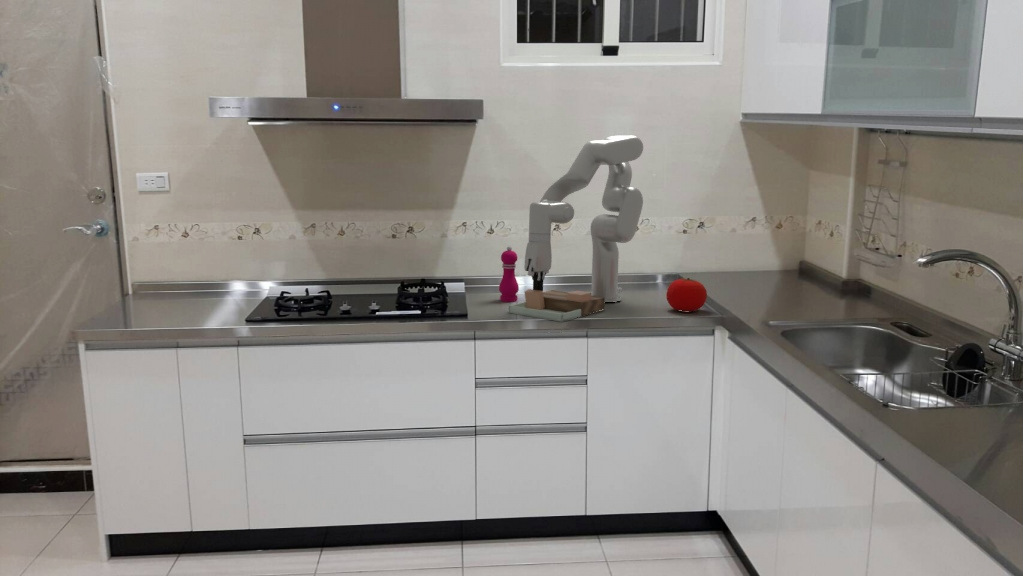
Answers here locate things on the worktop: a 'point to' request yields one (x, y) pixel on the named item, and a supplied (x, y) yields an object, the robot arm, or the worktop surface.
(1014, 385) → the worktop surface
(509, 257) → the pepper mill
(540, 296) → the tile
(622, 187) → the robot arm
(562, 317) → the tray
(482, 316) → the worktop surface
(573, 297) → the tile
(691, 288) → the tomato
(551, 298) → the board
